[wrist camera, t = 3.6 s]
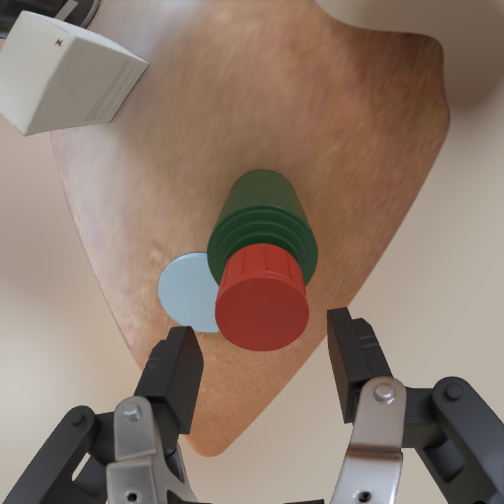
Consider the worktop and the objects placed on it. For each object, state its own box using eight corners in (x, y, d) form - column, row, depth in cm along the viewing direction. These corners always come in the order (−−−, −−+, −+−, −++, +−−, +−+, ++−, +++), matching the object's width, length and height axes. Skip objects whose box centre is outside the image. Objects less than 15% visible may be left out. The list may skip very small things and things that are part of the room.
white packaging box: (102, 34, 21) (23, 5, 9) (152, 64, 22) (78, 35, 11) (65, 92, 23) (-22, 95, 12) (109, 126, 25) (23, 139, 13)
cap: (215, 249, 14) (204, 283, 11) (296, 237, 14) (305, 270, 11) (232, 313, 16) (225, 355, 13) (303, 304, 16) (311, 345, 13)
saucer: (148, 259, 31) (146, 262, 30) (239, 245, 30) (238, 249, 29) (175, 331, 35) (173, 335, 34) (255, 324, 34) (255, 328, 33)
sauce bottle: (222, 175, 27) (169, 253, 11) (291, 164, 26) (333, 229, 11) (235, 238, 30) (208, 367, 14) (300, 229, 29) (337, 353, 13)
